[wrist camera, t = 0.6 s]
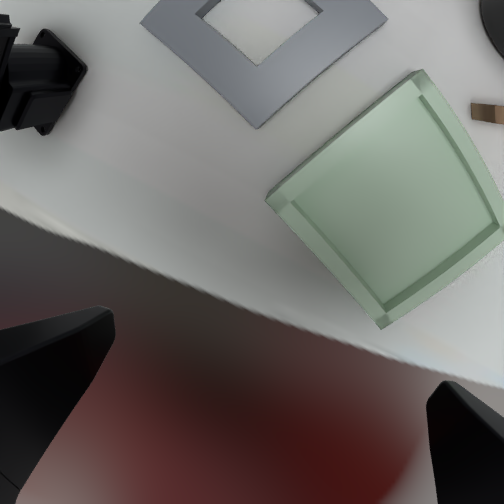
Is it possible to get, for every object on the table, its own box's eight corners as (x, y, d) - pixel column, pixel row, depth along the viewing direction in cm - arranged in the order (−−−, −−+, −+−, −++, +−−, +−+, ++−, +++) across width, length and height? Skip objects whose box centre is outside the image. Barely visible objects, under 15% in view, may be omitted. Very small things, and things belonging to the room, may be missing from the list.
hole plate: (148, 26, 16) (139, 23, 15) (261, -74, 12) (258, -83, 11) (259, 127, 18) (255, 129, 17) (383, 23, 14) (388, 19, 13)
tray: (268, 192, 19) (264, 200, 18) (412, 71, 15) (422, 69, 13) (377, 314, 22) (381, 329, 20) (503, 219, 17) (515, 229, 15)
